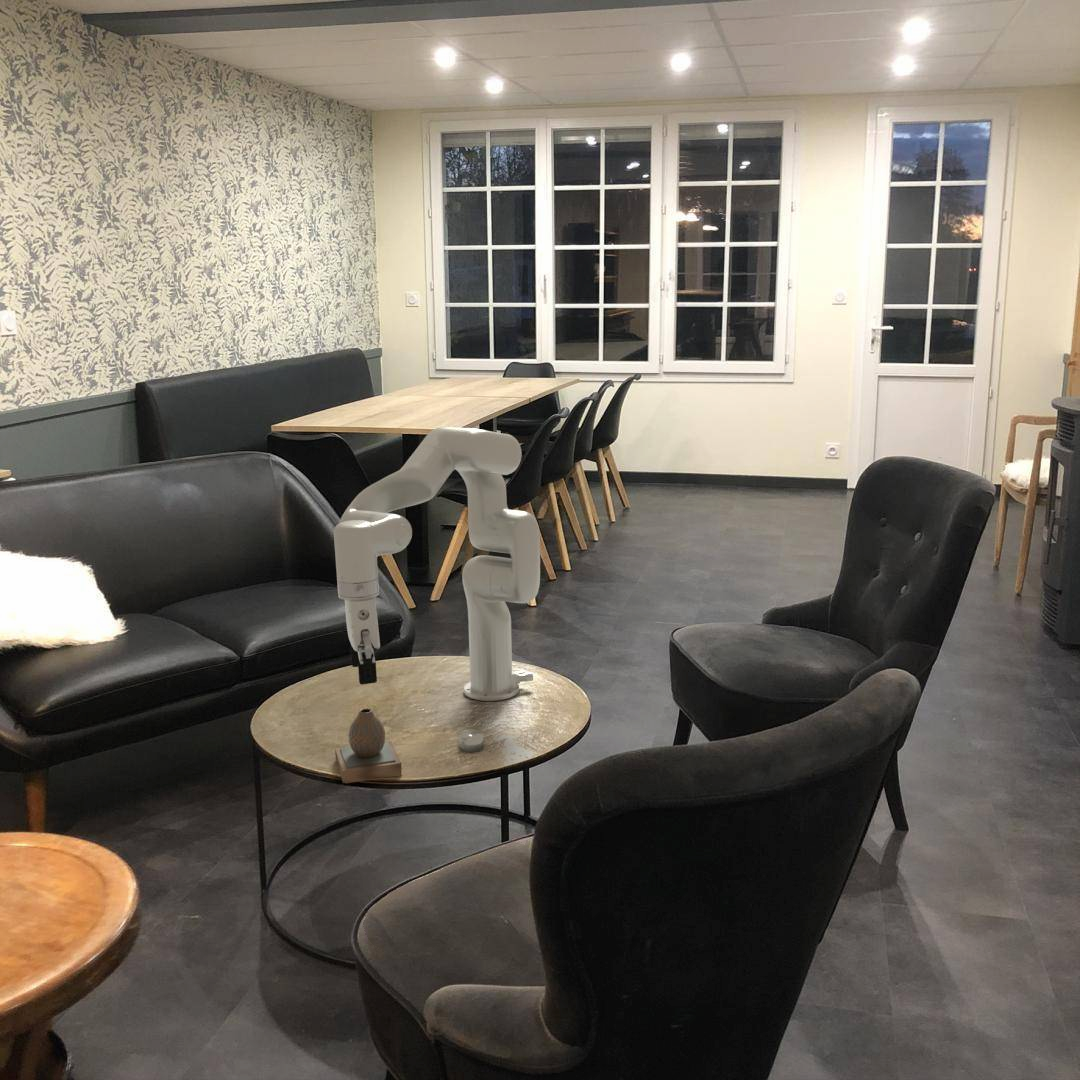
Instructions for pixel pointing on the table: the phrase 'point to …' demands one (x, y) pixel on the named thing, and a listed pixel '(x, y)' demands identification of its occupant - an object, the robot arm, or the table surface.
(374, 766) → the plinth
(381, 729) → the vase
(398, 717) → the table surface
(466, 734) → the tin
